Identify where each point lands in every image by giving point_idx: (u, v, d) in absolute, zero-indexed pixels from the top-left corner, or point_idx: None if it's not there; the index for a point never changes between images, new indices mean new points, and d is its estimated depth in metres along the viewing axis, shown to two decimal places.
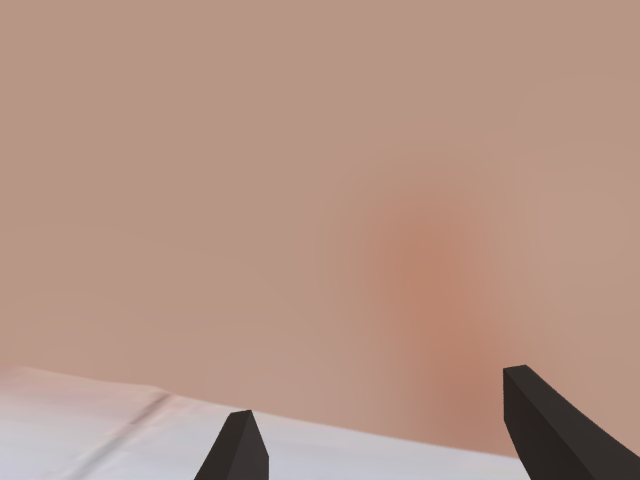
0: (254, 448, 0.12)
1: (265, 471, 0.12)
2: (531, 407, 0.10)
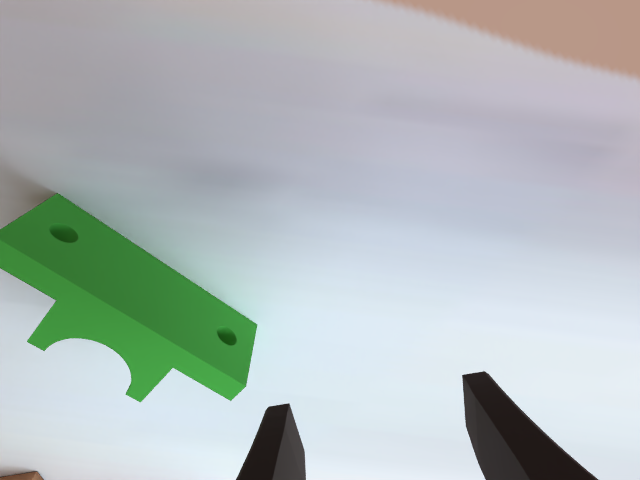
0: (293, 442, 0.11)
1: (303, 465, 0.12)
2: (484, 415, 0.10)
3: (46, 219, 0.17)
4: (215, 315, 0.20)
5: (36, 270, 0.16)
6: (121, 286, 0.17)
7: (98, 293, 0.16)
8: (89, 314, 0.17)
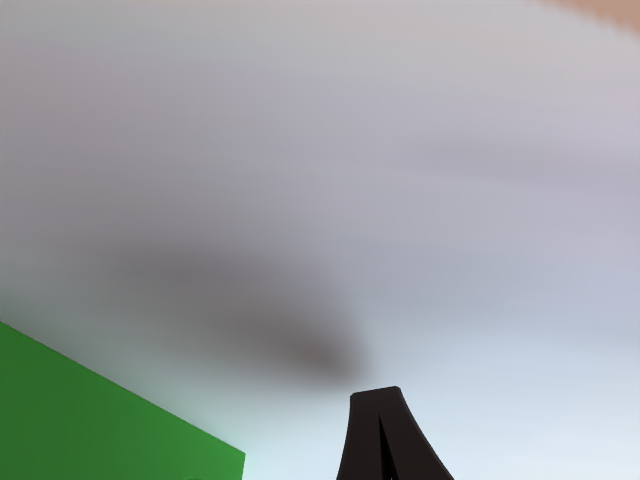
0: None
1: None
2: (383, 430, 0.10)
3: None
4: (178, 457, 0.13)
5: None
6: (4, 448, 0.10)
7: None
8: None
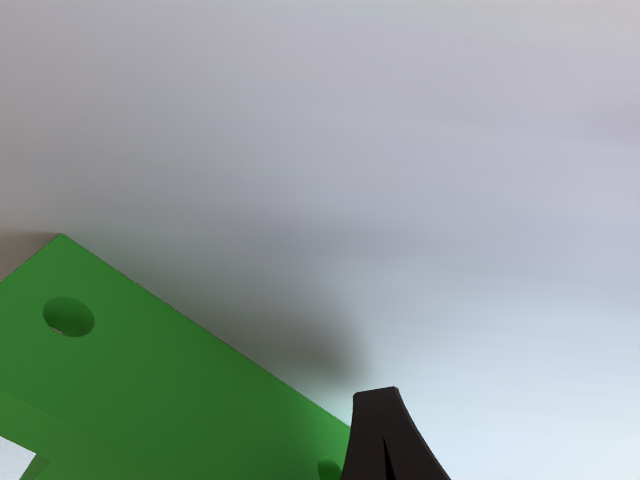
0: None
1: None
2: (381, 431, 0.10)
3: (38, 291, 0.09)
4: (309, 436, 0.13)
5: (13, 412, 0.08)
6: (171, 417, 0.10)
7: (134, 447, 0.08)
8: None
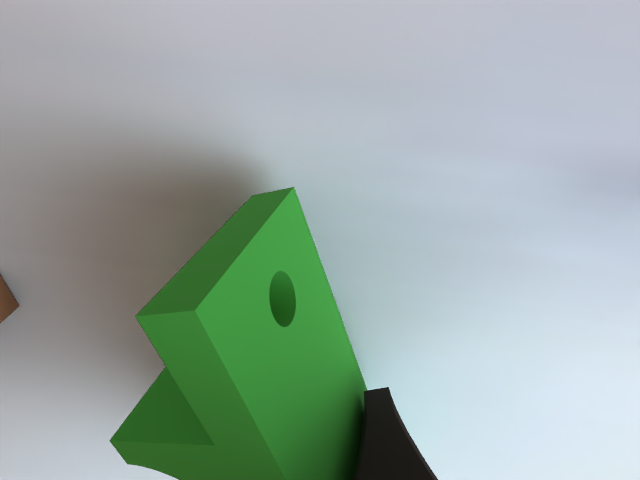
0: None
1: None
2: (371, 432, 0.10)
3: (270, 259, 0.08)
4: None
5: (225, 402, 0.07)
6: (317, 443, 0.09)
7: (293, 475, 0.08)
8: None
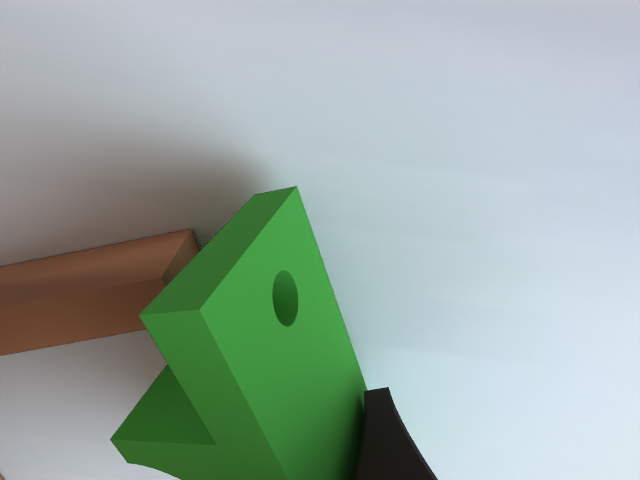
0: None
1: None
2: (371, 432, 0.10)
3: (274, 259, 0.08)
4: None
5: (228, 402, 0.07)
6: (318, 443, 0.09)
7: (295, 475, 0.08)
8: None
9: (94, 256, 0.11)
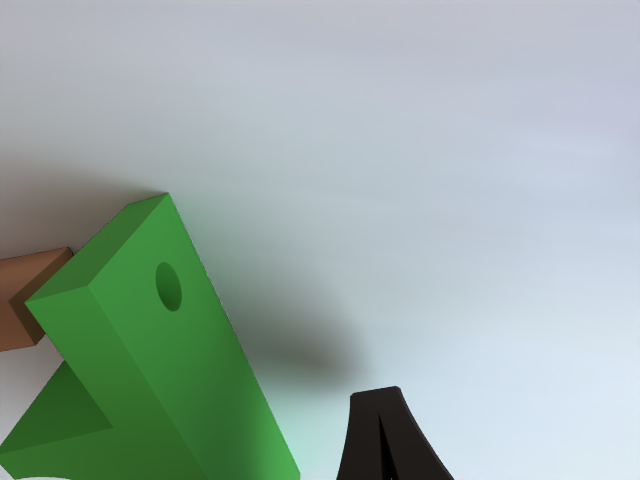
0: None
1: None
2: (384, 430, 0.10)
3: (154, 251, 0.09)
4: (277, 464, 0.13)
5: (122, 375, 0.07)
6: (213, 417, 0.10)
7: (193, 442, 0.09)
8: (154, 466, 0.09)
9: None
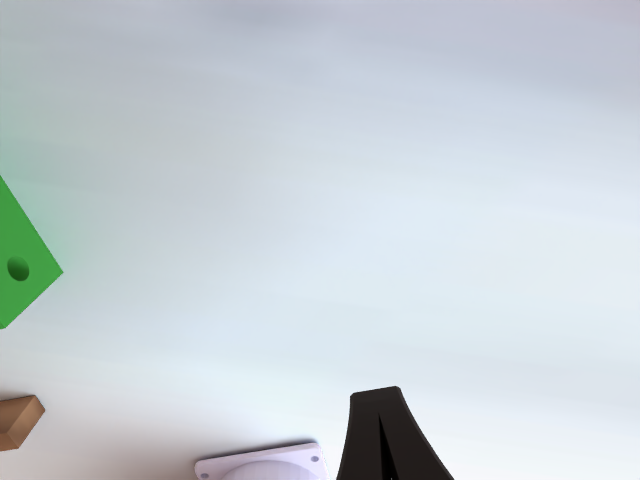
0: None
1: None
2: (383, 430, 0.10)
3: None
4: (19, 242, 0.18)
5: None
6: None
7: None
8: None
9: None
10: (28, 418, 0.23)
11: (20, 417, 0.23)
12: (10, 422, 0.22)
